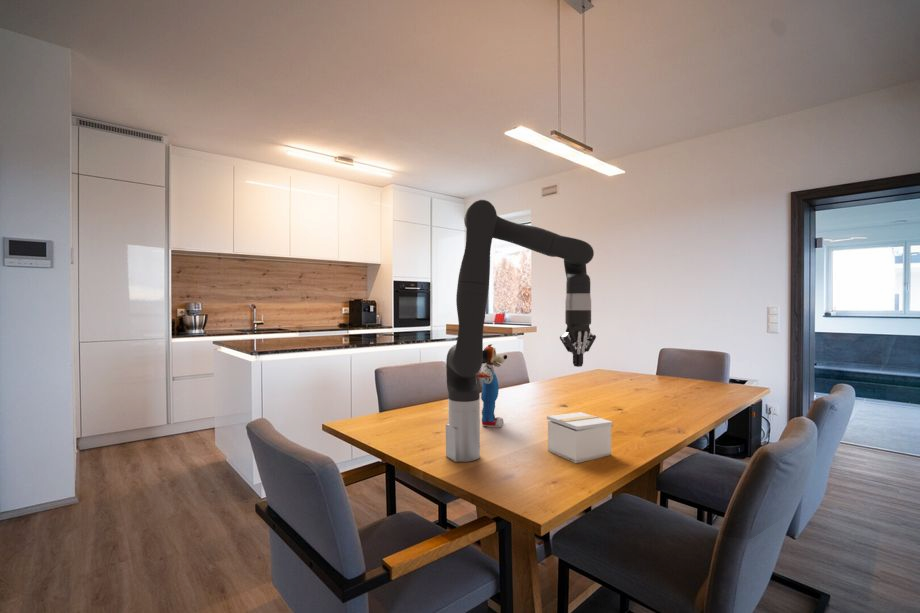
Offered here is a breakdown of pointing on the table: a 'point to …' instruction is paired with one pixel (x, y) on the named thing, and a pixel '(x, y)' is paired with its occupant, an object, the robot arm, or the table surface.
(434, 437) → the table surface
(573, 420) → the lid
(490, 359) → the toy
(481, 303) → the robot arm
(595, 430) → the box
